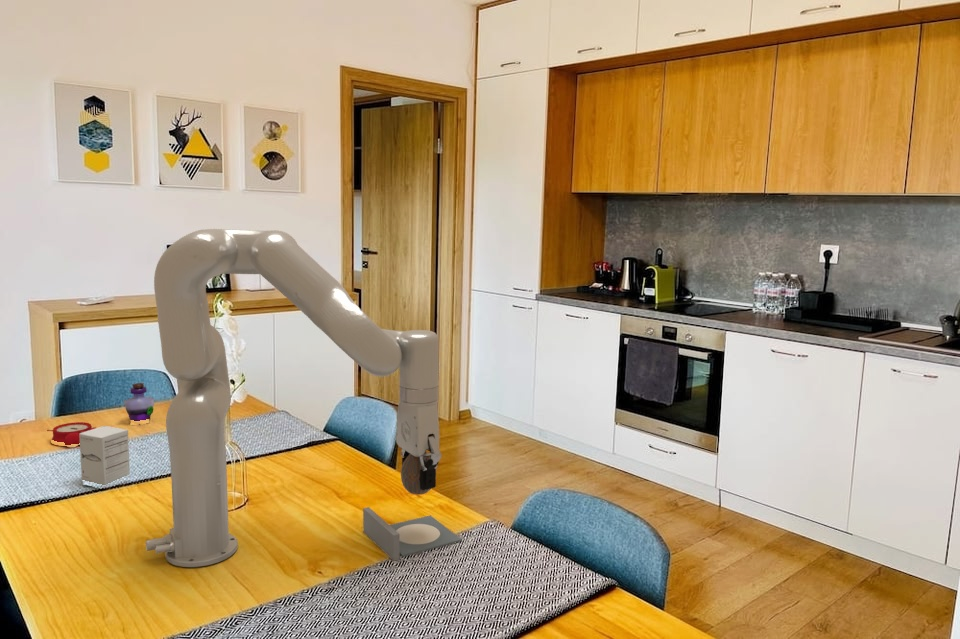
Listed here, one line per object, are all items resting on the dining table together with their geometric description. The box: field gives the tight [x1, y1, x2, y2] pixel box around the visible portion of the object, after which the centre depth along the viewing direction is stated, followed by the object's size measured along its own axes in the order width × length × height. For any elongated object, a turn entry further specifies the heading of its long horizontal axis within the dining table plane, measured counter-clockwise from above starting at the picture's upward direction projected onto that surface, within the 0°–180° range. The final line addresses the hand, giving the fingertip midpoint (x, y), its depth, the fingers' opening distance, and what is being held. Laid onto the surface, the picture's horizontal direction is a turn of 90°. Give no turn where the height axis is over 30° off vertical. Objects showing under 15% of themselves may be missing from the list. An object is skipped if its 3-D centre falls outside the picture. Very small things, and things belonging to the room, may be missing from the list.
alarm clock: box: [46, 421, 97, 445], centre depth 192 cm, size 10×6×15 cm
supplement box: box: [79, 425, 131, 485], centre depth 163 cm, size 7×7×13 cm
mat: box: [389, 515, 463, 558], centre depth 140 cm, size 13×13×1 cm
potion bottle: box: [123, 382, 155, 421], centre depth 210 cm, size 9×9×12 cm
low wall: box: [362, 506, 400, 562], centre depth 136 cm, size 1×14×5 cm, turn 33°
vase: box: [400, 450, 432, 496], centre depth 139 cm, size 7×7×9 cm
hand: (418, 481), depth 139 cm, fingers closed on vase, 6 cm apart
